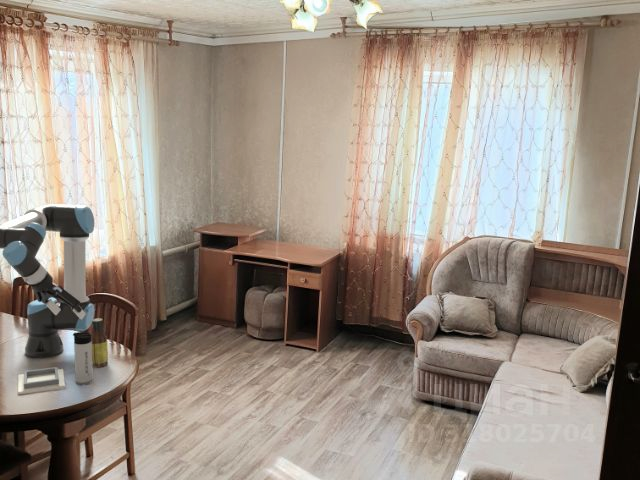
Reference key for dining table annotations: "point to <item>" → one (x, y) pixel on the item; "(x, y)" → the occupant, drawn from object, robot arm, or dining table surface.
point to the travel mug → (83, 358)
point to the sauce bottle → (99, 344)
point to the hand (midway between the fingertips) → (70, 314)
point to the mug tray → (40, 380)
